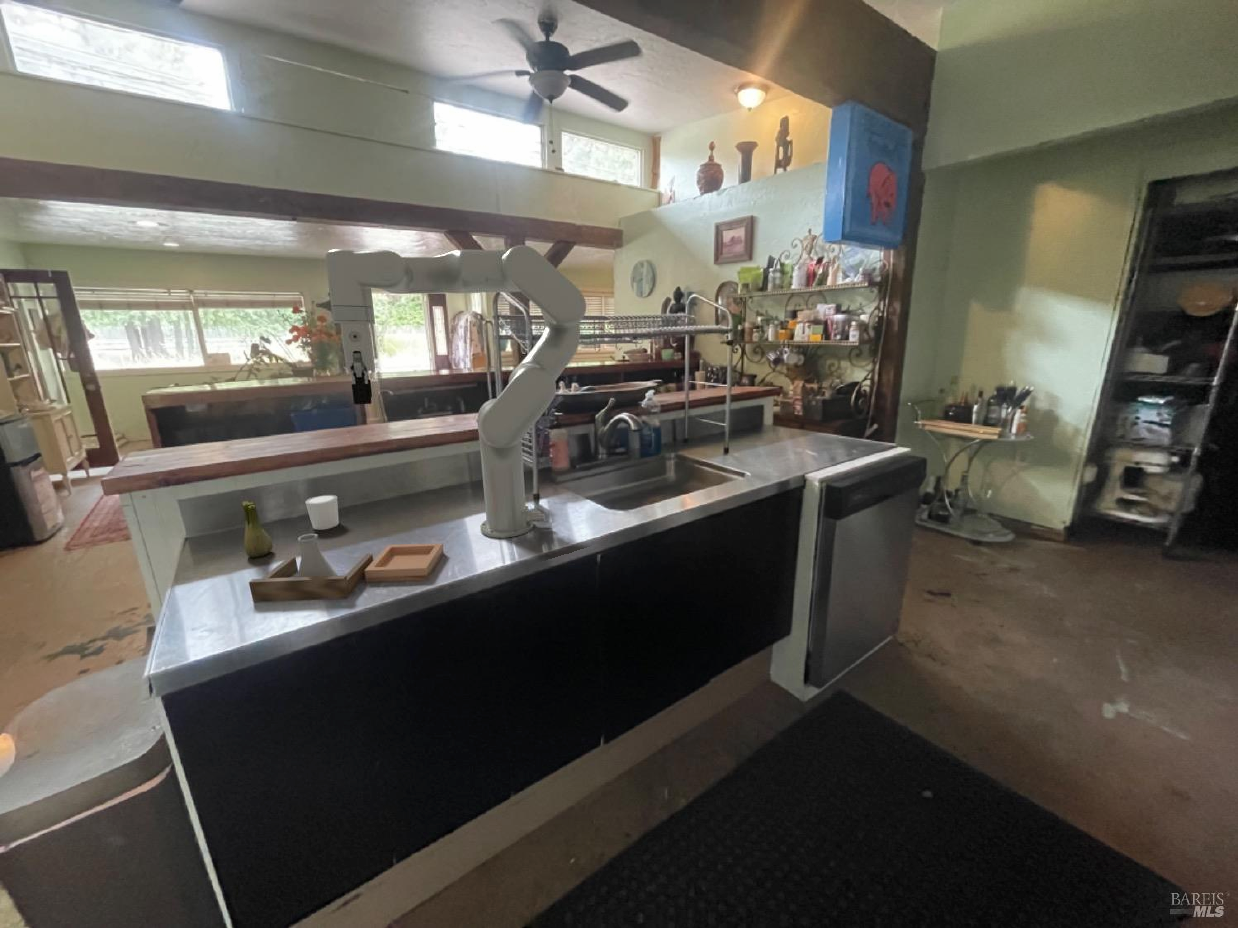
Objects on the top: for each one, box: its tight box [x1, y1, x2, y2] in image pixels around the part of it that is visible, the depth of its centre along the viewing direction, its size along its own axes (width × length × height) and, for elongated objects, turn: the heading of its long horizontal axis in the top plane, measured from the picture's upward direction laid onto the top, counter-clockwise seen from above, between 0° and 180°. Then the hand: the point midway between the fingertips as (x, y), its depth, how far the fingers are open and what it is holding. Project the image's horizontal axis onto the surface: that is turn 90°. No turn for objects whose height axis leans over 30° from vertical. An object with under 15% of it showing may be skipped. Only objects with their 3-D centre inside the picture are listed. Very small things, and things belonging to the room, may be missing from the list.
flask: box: [297, 533, 338, 577], centre depth 94 cm, size 7×7×10 cm
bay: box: [248, 553, 374, 603], centre depth 95 cm, size 16×12×4 cm
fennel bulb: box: [241, 501, 273, 558], centre depth 107 cm, size 6×5×12 cm
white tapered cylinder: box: [305, 494, 340, 531], centre depth 123 cm, size 7×7×7 cm
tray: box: [364, 542, 445, 583], centre depth 102 cm, size 12×12×2 cm
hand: (363, 400), depth 105 cm, fingers open, 9 cm apart
